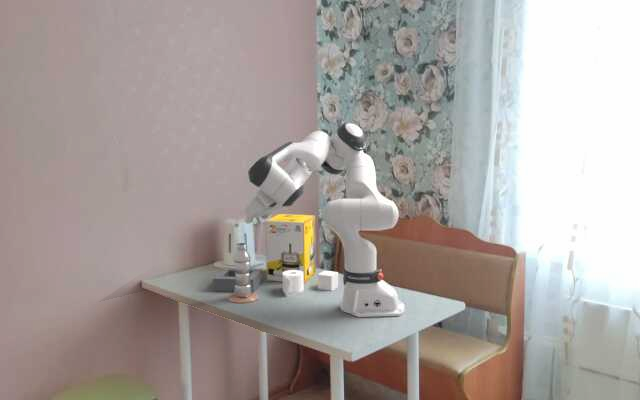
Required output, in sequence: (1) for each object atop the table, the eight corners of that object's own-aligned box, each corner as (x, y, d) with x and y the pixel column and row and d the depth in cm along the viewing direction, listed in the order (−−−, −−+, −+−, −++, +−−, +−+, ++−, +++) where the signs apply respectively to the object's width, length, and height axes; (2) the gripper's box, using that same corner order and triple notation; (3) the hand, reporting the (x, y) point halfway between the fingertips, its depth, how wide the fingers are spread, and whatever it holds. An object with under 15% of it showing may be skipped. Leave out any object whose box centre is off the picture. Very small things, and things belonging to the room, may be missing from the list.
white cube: (317, 289, 223) (317, 274, 222) (324, 284, 228) (324, 270, 227) (331, 291, 220) (331, 276, 219) (338, 286, 225) (338, 272, 225)
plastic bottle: (235, 300, 209) (233, 246, 206) (233, 294, 215) (231, 242, 212) (253, 298, 211) (251, 245, 207) (250, 292, 217) (249, 241, 214)
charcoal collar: (262, 280, 234) (262, 268, 233) (253, 292, 219) (253, 279, 219) (224, 279, 236) (224, 267, 235) (213, 290, 221) (212, 278, 221)
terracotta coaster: (261, 294, 217) (261, 292, 217) (254, 303, 206) (254, 302, 206) (233, 293, 218) (233, 291, 218) (224, 302, 208) (224, 301, 208)
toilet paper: (286, 296, 214) (286, 279, 213) (280, 288, 225) (280, 271, 223) (307, 294, 216) (307, 277, 215) (300, 286, 227) (300, 269, 226)
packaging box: (315, 272, 246) (315, 215, 242) (304, 283, 230) (303, 222, 226) (280, 269, 250) (279, 213, 246) (266, 280, 234) (265, 220, 231)
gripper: (287, 184, 208) (266, 208, 214) (255, 191, 190) (232, 217, 197) (298, 197, 206) (276, 221, 213) (266, 205, 189) (243, 231, 195)
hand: (255, 219), depth 205 cm, fingers open, 8 cm apart
